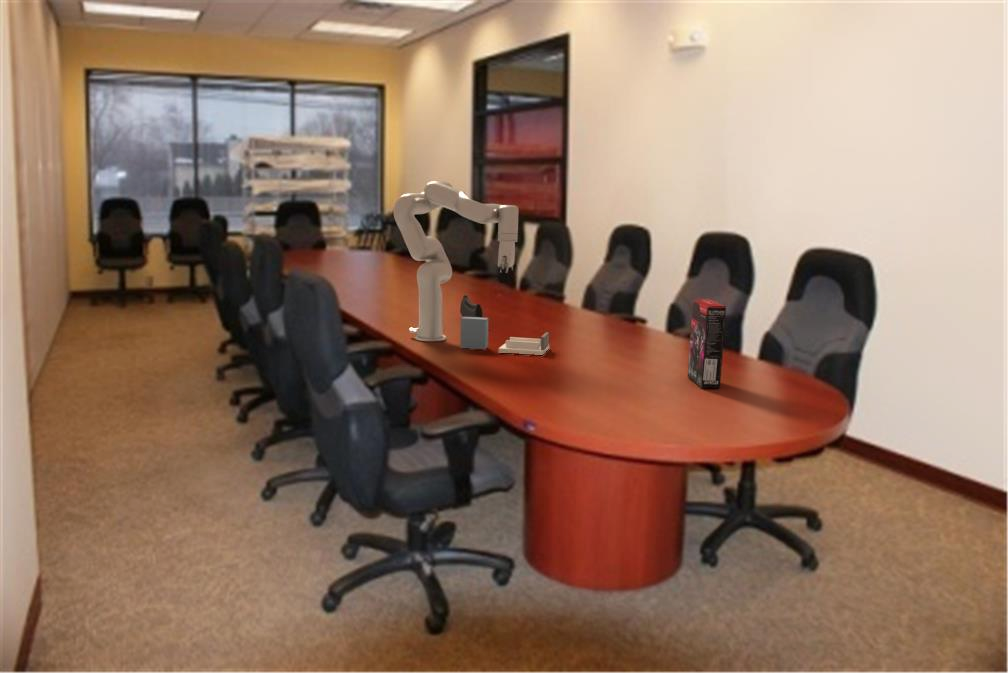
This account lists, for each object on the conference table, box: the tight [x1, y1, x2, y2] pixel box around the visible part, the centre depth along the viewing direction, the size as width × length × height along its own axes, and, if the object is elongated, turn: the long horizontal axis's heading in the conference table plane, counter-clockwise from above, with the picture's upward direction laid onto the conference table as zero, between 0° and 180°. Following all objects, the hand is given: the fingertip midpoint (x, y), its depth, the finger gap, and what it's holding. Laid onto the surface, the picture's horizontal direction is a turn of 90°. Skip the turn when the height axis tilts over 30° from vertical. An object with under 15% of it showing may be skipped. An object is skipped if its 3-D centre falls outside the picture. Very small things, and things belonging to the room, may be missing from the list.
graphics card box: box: [687, 298, 727, 389], centre depth 293 cm, size 17×7×27 cm, turn 5°
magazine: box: [459, 294, 484, 318], centre depth 405 cm, size 17×3×30 cm
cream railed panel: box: [498, 332, 550, 356], centre depth 342 cm, size 17×14×7 cm
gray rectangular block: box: [460, 316, 489, 350], centre depth 346 cm, size 10×4×12 cm, turn 77°
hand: (506, 281), depth 346 cm, fingers open, 9 cm apart
